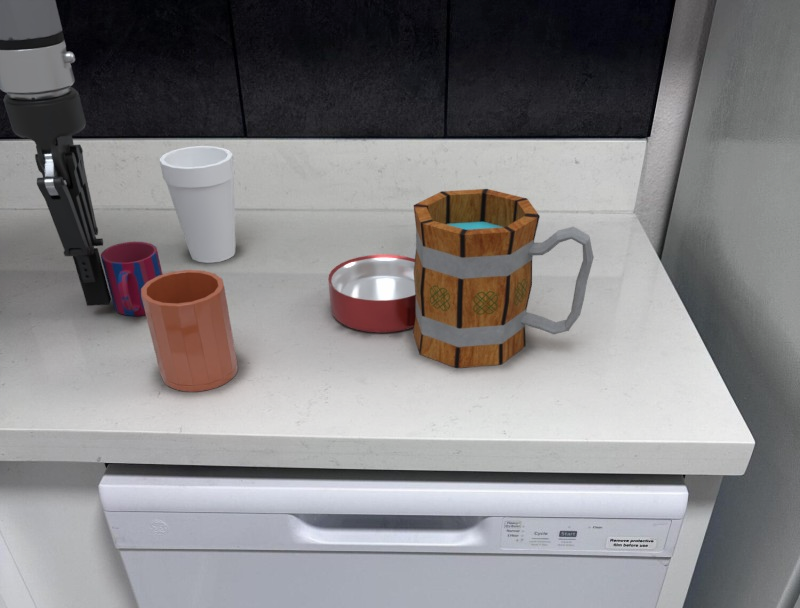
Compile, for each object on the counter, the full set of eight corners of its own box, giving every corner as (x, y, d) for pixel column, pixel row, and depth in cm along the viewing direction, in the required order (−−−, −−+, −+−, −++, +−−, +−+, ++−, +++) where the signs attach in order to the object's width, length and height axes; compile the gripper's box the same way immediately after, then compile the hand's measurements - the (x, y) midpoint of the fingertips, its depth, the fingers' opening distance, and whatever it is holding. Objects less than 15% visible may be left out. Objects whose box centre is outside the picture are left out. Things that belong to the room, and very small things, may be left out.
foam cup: (189, 240, 116) (170, 145, 107) (251, 240, 116) (237, 145, 107) (172, 267, 109) (151, 168, 100) (238, 267, 109) (223, 168, 100)
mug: (398, 360, 90) (396, 228, 79) (426, 307, 99) (427, 184, 89) (572, 382, 86) (594, 247, 76) (583, 325, 95) (604, 198, 85)
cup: (173, 292, 103) (163, 241, 99) (153, 329, 96) (140, 275, 91) (123, 292, 103) (110, 241, 99) (99, 328, 96) (83, 275, 91)
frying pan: (392, 229, 118) (391, 185, 114) (476, 238, 116) (479, 193, 111) (315, 327, 96) (311, 276, 91) (418, 341, 93) (419, 289, 89)
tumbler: (145, 379, 87) (123, 294, 80) (196, 346, 93) (179, 264, 86) (204, 399, 84) (185, 312, 77) (252, 364, 89) (239, 280, 83)
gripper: (64, 104, 78) (123, 324, 93) (86, 74, 87) (136, 278, 103) (-15, 108, 77) (58, 329, 93) (16, 77, 87) (77, 282, 102)
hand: (99, 302), depth 98 cm, fingers closed
